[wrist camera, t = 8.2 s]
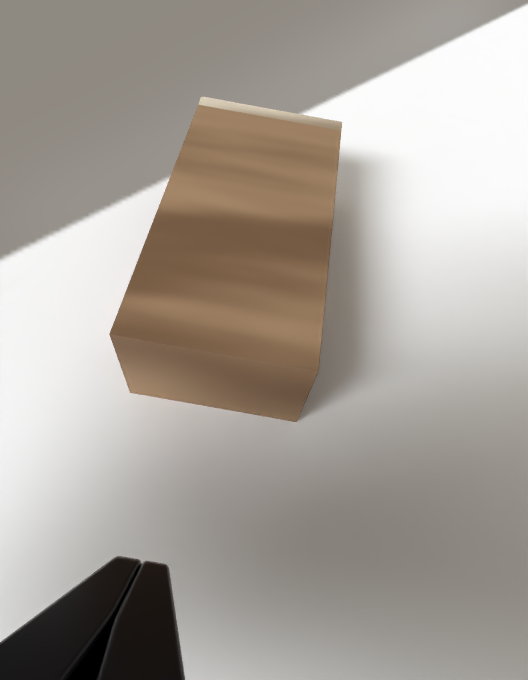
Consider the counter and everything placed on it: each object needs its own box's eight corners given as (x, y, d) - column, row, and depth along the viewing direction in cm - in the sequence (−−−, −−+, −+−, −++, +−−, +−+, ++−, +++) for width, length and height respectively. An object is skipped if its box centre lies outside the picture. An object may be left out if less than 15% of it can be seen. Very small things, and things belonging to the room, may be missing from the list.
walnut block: (318, 371, 13) (342, 122, 19) (109, 333, 13) (201, 96, 19) (296, 422, 16) (322, 196, 23) (130, 393, 16) (203, 174, 23)
